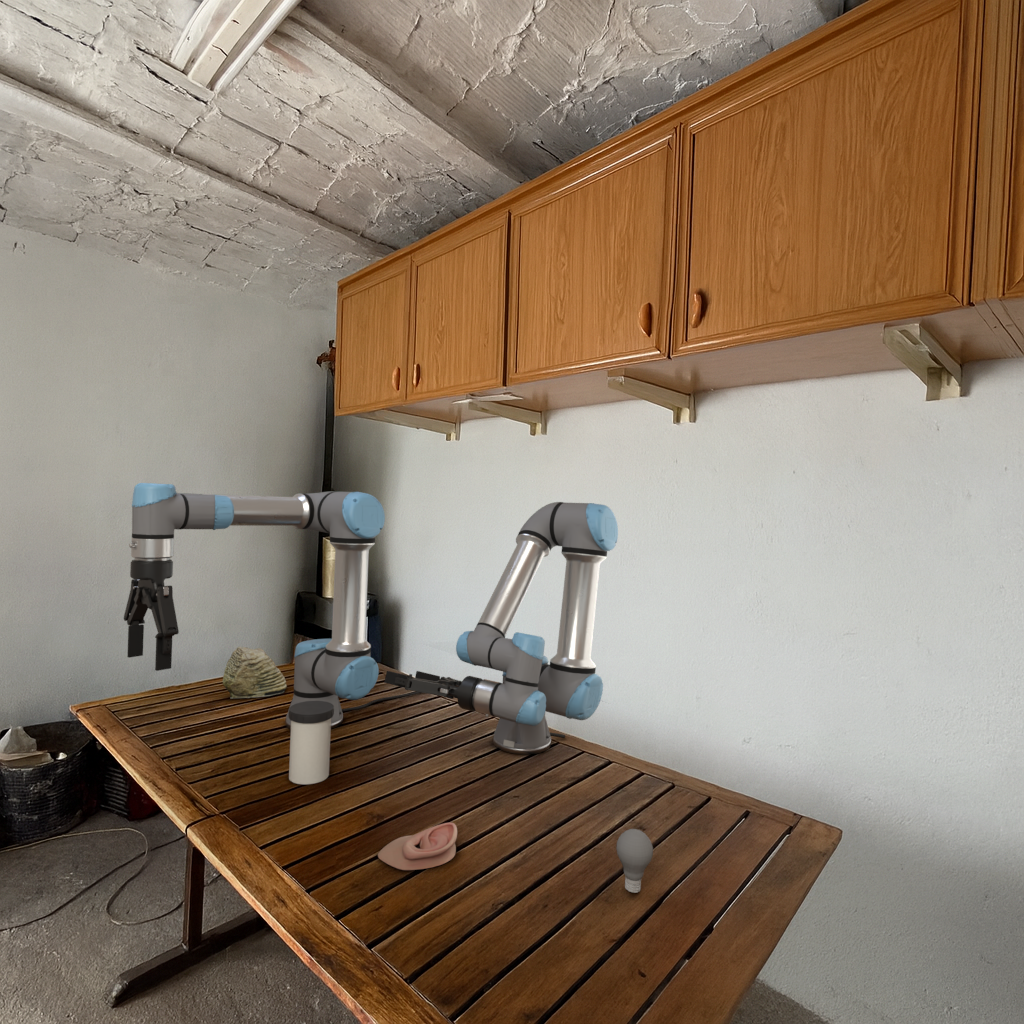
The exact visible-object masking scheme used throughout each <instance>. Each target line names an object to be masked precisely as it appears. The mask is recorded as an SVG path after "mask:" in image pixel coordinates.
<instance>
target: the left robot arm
mask: <svg viewBox="0 0 1024 1024" xmlns="http://www.w3.org/2000/svg"><path fill="white" fill-rule="evenodd" d="M385 515H386V513H385V511H384V508H383V505H382V503H381V502H380V501H379V500H378V498H377V497H375V495H373V494H370V493H367V492H363V491H362V492H361V491H337V490H336V491H335V490H333V491H332V490H330V491H321V492H311V493H295V494H294V495H293V496H276V495H275V496H274V495H273V496H272V495H248V494H247V495H246V494H244V495H243V494H220V493H219V494H218V493H217V494H216V493H215V494H214V493H189V492H187V493H186V492H177V491H176V486H175V485H174V484H173V483H152V482H139V483H137V484H136V485H135V486H134V488H133V492H132V501H131V520H132V521H131V542H130V543H128V547H129V548H130V549H131V550H130V556H131V558H133V559H132V560H131V561H130V567H129V568H130V571H129V574H130V575H129V576H130V578H131V581H130V590H129V594H128V598H127V603H126V607H125V610H124V615H123V621H124V622H126V624H127V626H128V629H127V630H128V631H127V658H135V657H142V656H144V635H145V634H144V630H145V625H144V624H145V623H146V621H145V619H144V618H145V616H146V615H147V612H148V609H149V610H151V613H152V618H153V620H154V624H155V627H156V631H157V633H156V635H155V636H154V638H155V661H154V663H155V665H154V668H155V669H154V670H155V671H157V672H159V671H164V670H169V669H172V659H173V657H172V655H173V637H175V636H176V635H179V632H180V631H179V625H178V619H177V615H176V614H177V613H176V609H175V603H174V597H173V595H174V593H173V585H165V580H167V579H171V578H172V577H173V575H174V573H173V572H174V561H173V560H172V559H171V558H173V557H174V554H175V553H174V552H175V530H213V531H215V530H224V529H228V528H230V526H233V527H234V526H237V527H238V526H240V527H243V526H246V527H247V526H249V527H250V526H258V527H259V526H268V527H269V526H276V527H277V526H282V527H284V526H285V527H286V526H287V527H288V526H289V527H290V526H291V527H293V528H294V529H296V530H308V531H309V530H310V531H316V532H319V533H325V534H329V544H330V545H331V546H332V547H333V548H334V550H335V551H334V572H333V573H334V577H333V599H332V625H331V626H332V627H331V638H317V639H308V640H304V641H300V642H299V643H297V645H296V646H295V650H294V655H293V657H294V672H293V673H294V674H293V695H292V696H293V697H292V699H291V702H290V704H289V708H290V707H291V706H292V705H294V704H297V703H300V702H305V701H325V702H329V703H331V704H333V706H334V715H333V717H332V718H331V730H332V729H335V728H337V727H339V726H340V725H342V723H343V722H344V714H343V712H348V711H349V712H350V711H355V710H360V709H364V708H366V707H368V706H370V705H372V704H376V703H378V702H382V701H387V700H394V699H398V698H403V697H404V698H405V697H410V696H414V695H415V696H416V695H419V694H422V693H423V692H417V691H412V692H408V693H402V694H397V695H392V696H386V697H381V698H376V699H373V700H371V701H368V702H367V703H364V704H362V705H358V706H353V707H347V708H342V706H341V702H340V699H339V698H341V699H342V700H343V699H344V700H348V701H349V700H350V701H357V700H360V699H362V698H364V697H365V696H367V695H368V694H370V692H371V690H372V689H374V687H375V685H376V683H377V682H378V678H379V674H380V672H379V671H380V670H379V669H380V668H379V665H378V663H377V662H376V660H375V659H374V657H371V652H372V649H371V648H372V644H371V643H370V642H368V640H367V639H366V631H367V607H368V606H367V605H368V604H367V602H368V582H369V581H368V579H369V555H370V553H369V552H370V550H371V548H372V547H374V545H375V544H376V536H378V535H379V534H380V533H381V530H383V528H384V526H385V522H386V521H385V520H386V516H385ZM289 708H288V711H287V713H286V715H285V726H286V728H287V729H289V730H291V720H290V719H289Z"/></svg>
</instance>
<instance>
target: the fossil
mask: <svg viewBox="0 0 1024 1024" xmlns="http://www.w3.org/2000/svg"><path fill="white" fill-rule="evenodd" d="M222 676H223V677H222V685H223V687H224V688H225V690H226V691H228V693H229V698H230V699H250V698H264V697H271V696H275V695H281V694H284V693H285V691H286V689H287V687H288V686H287V680H286V678H285V676H284V674H283V673H282V672H281V669H279V668H278V667H277V665H276V663H275V662H274V660H273V659H272V658H271V657H270V656H269V655H268V654H267V653H266V652H265V650H264V649H263V648H260V647H258V648H251V647H247V646H246V647H245V646H238V647H237V648H236V649H235V650H233V651H232V653H231V656H230V657H229V659H228V660H227V663H226V666H225V668H224V671H223V675H222Z"/></svg>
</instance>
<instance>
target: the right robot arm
mask: <svg viewBox="0 0 1024 1024" xmlns="http://www.w3.org/2000/svg"><path fill="white" fill-rule="evenodd" d="M617 521H618V520H617V518H616V516H615V513H614V511H613V510H612V509H611V508H610V506H608V505H607V504H606V505H605V504H601V503H594V502H593V503H592V502H563V501H556V502H550V503H547V504H545V505H544V506H542V507H540V508H539V509H537V510H536V511H535V512H534V513H533V514H532V515H531V516H530V517H529V518H528V519H527V520H526V521H525V522H524V524H523V525H522V527H521V528H520V530H519V532H518V533H517V536H516V538H515V543H516V546H515V548H514V550H513V552H512V553H511V556H510V558H509V560H508V562H507V564H506V566H505V568H504V570H503V572H502V574H501V576H500V578H499V580H498V581H497V584H496V585H495V588H494V590H493V592H492V594H491V596H490V598H489V600H488V602H487V603H486V606H485V608H484V610H483V612H482V614H481V616H480V618H479V620H478V622H477V623H476V626H475V627H474V629H473V630H466V631H464V632H463V633H461V634H460V635H459V637H458V638H457V641H456V646H455V651H456V655H457V657H458V658H459V660H460V661H461V662H464V663H467V664H469V665H472V666H475V667H476V666H477V667H482V668H487V669H492V670H495V671H499V672H502V682H499V681H495V680H492V679H487V678H484V679H483V678H481V677H477V676H473V675H467V676H466V677H464V678H463V679H462V680H458V679H455V678H453V677H450V676H440V675H437V674H432V673H428V672H423V671H419V670H416V673H415V676H414V677H413V674H412V673H409V674H408V675H407V674H403V673H399V672H395V671H391V670H386V673H385V678H384V684H387V685H391V686H392V685H393V686H395V687H400V688H404V690H406V691H411V692H422V693H424V694H429V695H434V696H440V697H443V698H447V699H452V700H453V699H457V704H458V707H459V708H460V709H462V710H466V711H470V712H476V713H478V714H482V715H484V717H485V718H487V719H488V718H490V716H491V717H494V718H498V721H497V724H496V727H495V730H494V732H493V738H492V739H493V745H494V746H495V747H496V748H497V749H499V750H500V751H503V752H506V753H509V754H516V755H536V754H541V753H544V752H546V751H547V750H549V749H550V748H551V747H552V737H554V738H560V739H566V734H563V733H556V732H550V729H549V724H548V720H547V717H546V713H550V714H554V715H557V716H561V717H565V718H566V719H568V720H578V721H586V720H588V719H589V718H591V717H592V716H593V715H594V714H595V712H596V710H597V709H598V707H599V705H600V702H601V700H602V697H603V691H604V683H603V678H602V677H601V676H600V675H599V674H597V673H596V669H597V664H596V663H594V661H593V660H592V658H591V657H592V648H593V637H594V630H595V629H594V627H595V619H596V608H597V598H598V588H599V577H600V569H601V568H600V567H601V563H603V562H604V561H605V560H606V559H607V557H608V552H610V551H613V550H614V549H615V547H616V544H617V543H618V538H619V525H618V522H617ZM555 547H561V551H560V552H561V555H562V556H563V557H564V559H565V561H566V562H565V572H564V580H563V581H564V582H563V591H562V600H561V601H562V602H561V609H560V619H559V630H558V637H557V638H558V640H557V649H556V654H555V655H554V656H552V658H550V660H549V659H548V657H547V656H545V655H544V653H545V645H546V640H545V638H543V637H542V636H541V635H540V636H539V635H534V634H528V633H523V632H518V631H517V632H515V633H513V636H512V638H508V637H506V636H507V635H508V632H509V630H510V628H511V626H512V624H513V621H514V619H515V617H516V616H517V613H518V611H519V609H520V607H521V605H522V602H523V601H524V599H525V596H526V594H527V592H528V590H529V588H530V586H531V584H532V582H533V579H534V577H535V576H536V573H537V571H538V569H539V567H540V565H541V563H542V561H543V559H544V558H545V557H548V556H549V555H550V553H551V550H552V549H553V548H555Z"/></svg>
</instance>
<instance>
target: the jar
mask: <svg viewBox="0 0 1024 1024" xmlns="http://www.w3.org/2000/svg"><path fill="white" fill-rule="evenodd" d="M331 731H332V729H331V718H330V719H329V720H326V721H323V722H318V723H297V722H294V721H291V729H290V734H289V735H290V736H289V737H290V738H289V764H288V765H289V766H288V780H289V781H290V782H291V783H293V784H297V785H313V784H318V783H321V782H323V781H325V780H326V779H328V778H329V776H330V759H331V758H330V756H331V755H330V754H331Z"/></svg>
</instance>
